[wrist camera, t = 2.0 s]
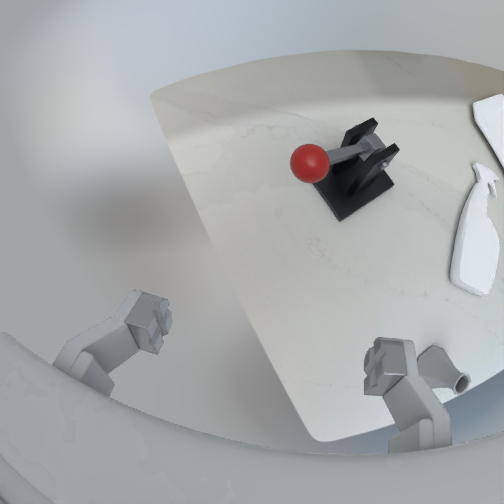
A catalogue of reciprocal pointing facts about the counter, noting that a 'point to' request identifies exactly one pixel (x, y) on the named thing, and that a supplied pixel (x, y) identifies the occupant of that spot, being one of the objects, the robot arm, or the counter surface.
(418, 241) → the counter surface
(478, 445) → the robot arm
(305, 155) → the lever
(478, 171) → the spray bottle
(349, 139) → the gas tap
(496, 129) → the plate
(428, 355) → the flask
